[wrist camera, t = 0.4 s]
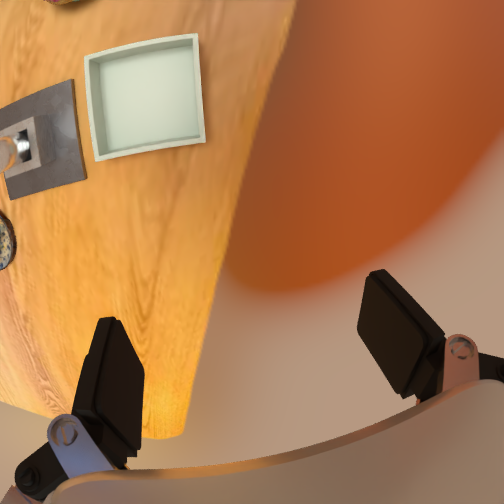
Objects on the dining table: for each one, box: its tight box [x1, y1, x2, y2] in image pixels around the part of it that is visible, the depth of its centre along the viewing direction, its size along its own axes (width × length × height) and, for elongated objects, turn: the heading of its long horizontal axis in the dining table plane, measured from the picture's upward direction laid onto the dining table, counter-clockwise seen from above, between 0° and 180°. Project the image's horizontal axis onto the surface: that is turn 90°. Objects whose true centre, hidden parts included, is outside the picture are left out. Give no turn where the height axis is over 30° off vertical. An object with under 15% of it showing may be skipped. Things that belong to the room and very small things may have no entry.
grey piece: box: [0, 114, 56, 179], centre depth 23 cm, size 6×6×11 cm
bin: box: [84, 33, 206, 162], centre depth 28 cm, size 13×13×5 cm
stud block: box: [0, 79, 87, 201], centre depth 27 cm, size 14×14×5 cm
